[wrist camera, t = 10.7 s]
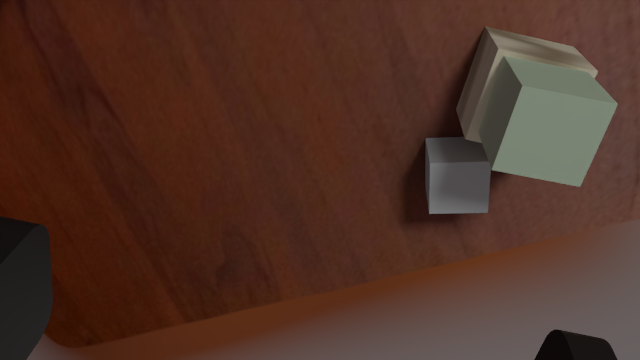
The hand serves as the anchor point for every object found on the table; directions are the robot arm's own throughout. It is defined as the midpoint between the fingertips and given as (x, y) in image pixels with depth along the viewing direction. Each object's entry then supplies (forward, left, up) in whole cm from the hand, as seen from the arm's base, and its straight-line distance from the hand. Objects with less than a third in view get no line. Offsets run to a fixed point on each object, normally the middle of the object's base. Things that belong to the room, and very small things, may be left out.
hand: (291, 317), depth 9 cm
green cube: (+12, -5, -27) cm, 30 cm away
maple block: (+12, -5, -32) cm, 35 cm away
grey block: (+10, -12, -32) cm, 36 cm away
